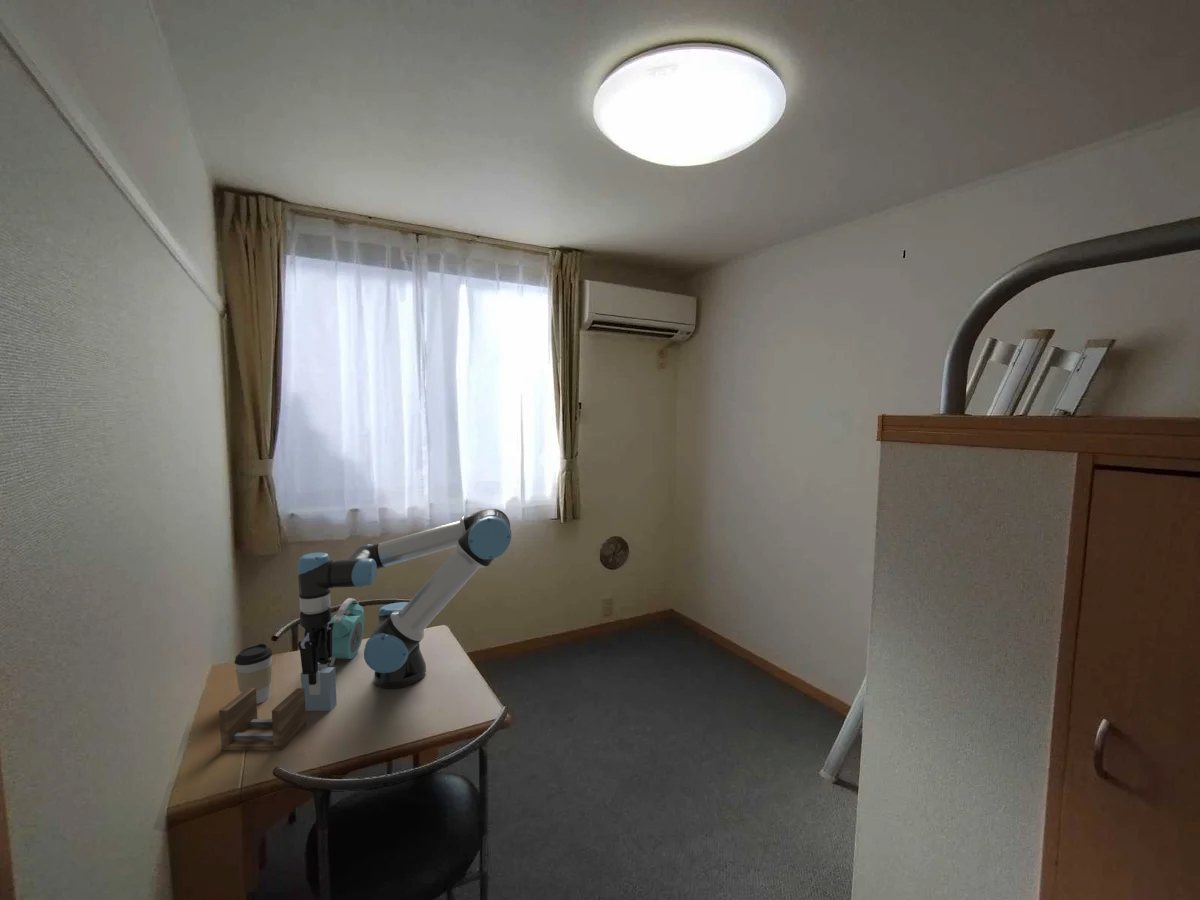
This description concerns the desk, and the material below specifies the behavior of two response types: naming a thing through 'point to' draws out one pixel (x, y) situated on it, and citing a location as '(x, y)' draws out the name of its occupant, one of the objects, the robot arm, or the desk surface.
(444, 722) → the desk surface
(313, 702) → the door panel
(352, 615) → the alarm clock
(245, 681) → the coffee cup
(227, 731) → the frame
